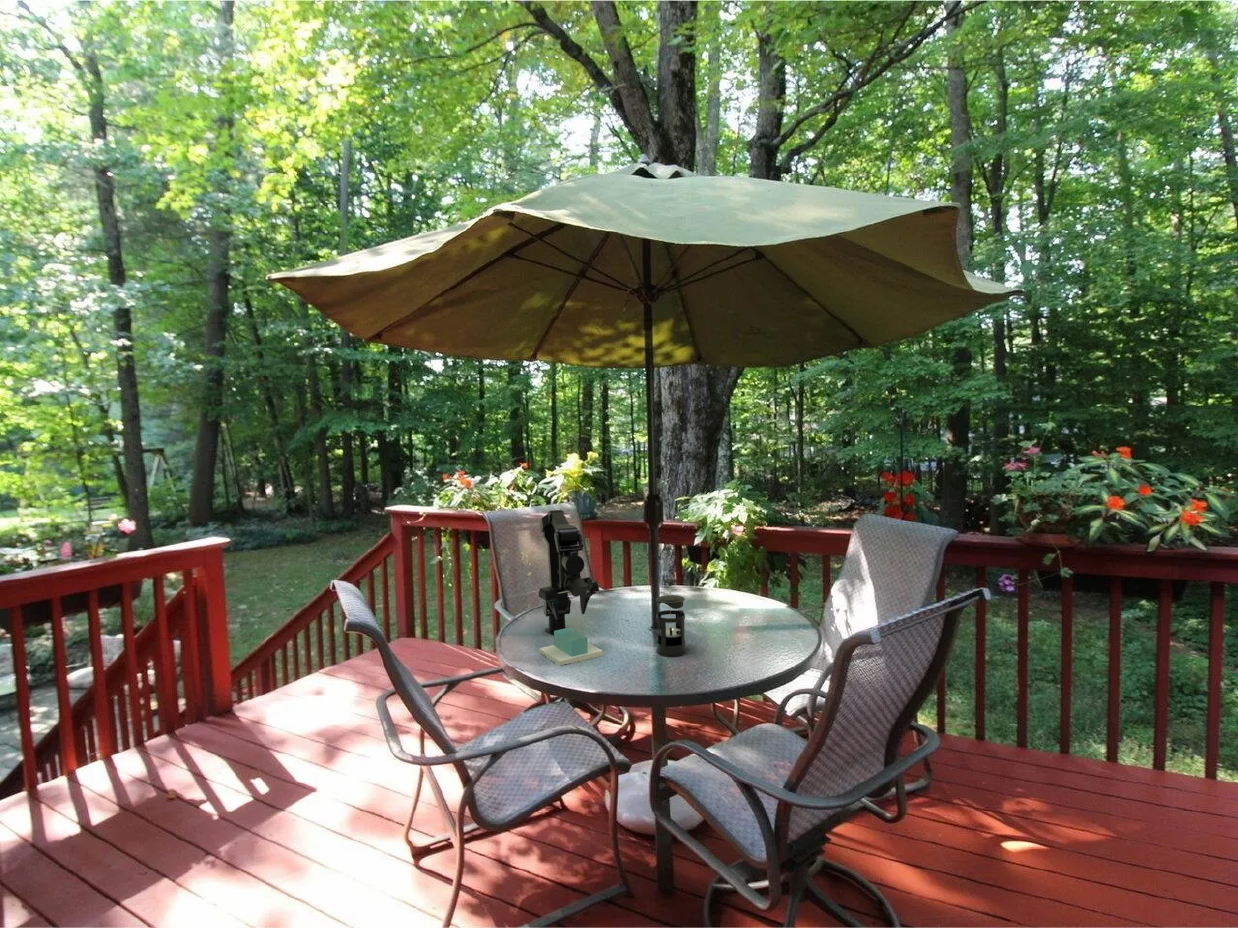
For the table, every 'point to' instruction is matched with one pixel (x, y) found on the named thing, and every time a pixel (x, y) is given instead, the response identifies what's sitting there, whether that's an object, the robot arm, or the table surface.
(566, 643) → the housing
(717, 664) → the table surface
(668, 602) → the french press
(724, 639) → the table surface
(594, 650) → the base plate
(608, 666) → the table surface
